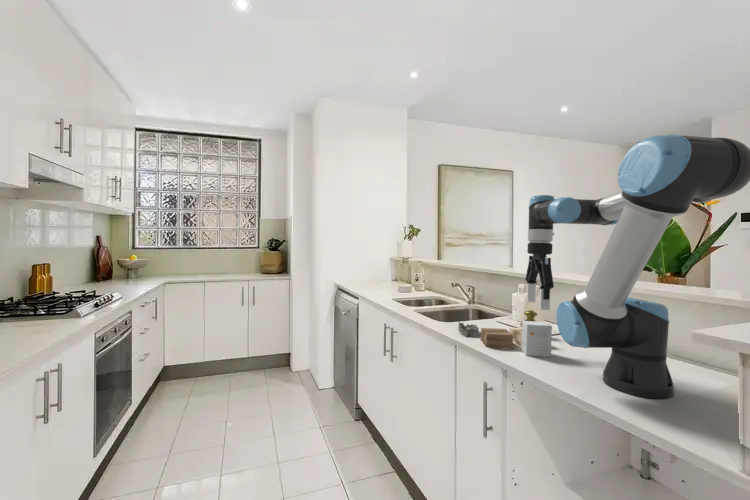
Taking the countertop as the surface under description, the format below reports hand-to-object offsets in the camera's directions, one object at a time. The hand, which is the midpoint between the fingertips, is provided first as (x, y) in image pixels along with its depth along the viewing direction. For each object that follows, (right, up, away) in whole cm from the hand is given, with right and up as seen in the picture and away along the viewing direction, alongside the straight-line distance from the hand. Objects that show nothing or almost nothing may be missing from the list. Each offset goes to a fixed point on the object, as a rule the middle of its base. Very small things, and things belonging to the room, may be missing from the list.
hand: (537, 305), depth 120 cm
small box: (-1, -17, 0) cm, 17 cm away
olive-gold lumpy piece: (+8, -16, +25) cm, 31 cm away
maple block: (+2, -16, +13) cm, 21 cm away
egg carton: (-17, -16, +25) cm, 34 cm away
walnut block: (-10, -16, +11) cm, 22 cm away
